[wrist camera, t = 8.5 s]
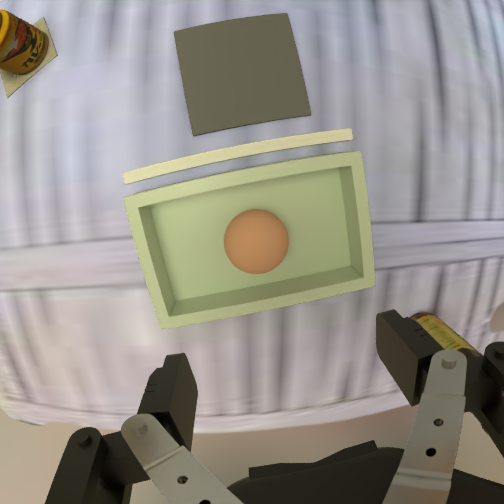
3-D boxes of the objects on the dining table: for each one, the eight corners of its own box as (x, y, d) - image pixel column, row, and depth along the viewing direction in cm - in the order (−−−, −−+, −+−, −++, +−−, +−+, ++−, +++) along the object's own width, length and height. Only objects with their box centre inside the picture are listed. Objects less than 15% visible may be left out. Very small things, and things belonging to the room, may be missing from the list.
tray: (345, 151, 32) (360, 150, 27) (359, 271, 35) (375, 285, 31) (137, 192, 32) (123, 197, 27) (169, 309, 35) (161, 329, 31)
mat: (286, 14, 27) (287, 13, 27) (310, 115, 31) (311, 114, 30) (174, 33, 27) (173, 31, 27) (193, 136, 31) (192, 135, 30)
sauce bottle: (434, 341, 39) (516, 429, 20) (397, 355, 39) (471, 457, 20) (436, 301, 37) (533, 384, 18) (396, 315, 37) (487, 415, 18)
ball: (278, 199, 32) (287, 209, 26) (287, 256, 34) (298, 276, 28) (219, 211, 32) (215, 223, 26) (231, 267, 34) (230, 289, 28)
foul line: (349, 128, 31) (350, 128, 31) (351, 139, 31) (352, 139, 31) (123, 173, 31) (122, 173, 31) (125, 184, 31) (125, 184, 31)
